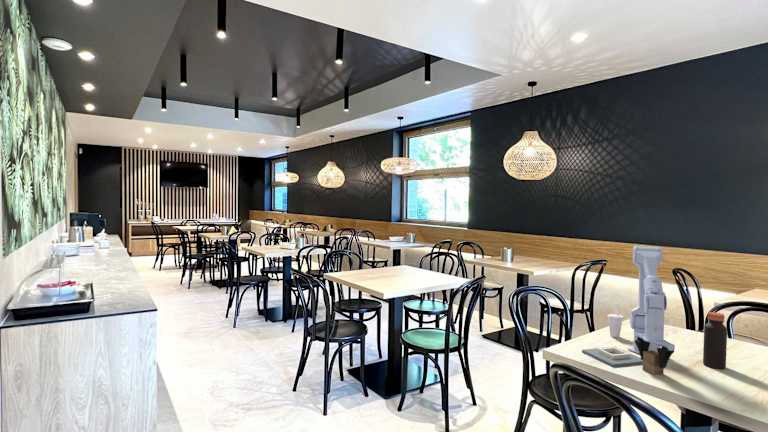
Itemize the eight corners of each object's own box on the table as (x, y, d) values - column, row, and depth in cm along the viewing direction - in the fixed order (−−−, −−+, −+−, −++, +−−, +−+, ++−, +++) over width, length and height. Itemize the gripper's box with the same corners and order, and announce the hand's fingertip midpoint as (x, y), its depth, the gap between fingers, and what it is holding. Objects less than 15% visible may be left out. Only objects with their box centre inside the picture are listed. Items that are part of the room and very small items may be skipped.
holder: (613, 349, 174) (614, 343, 174) (647, 363, 158) (647, 356, 158) (581, 352, 170) (582, 346, 170) (612, 367, 154) (613, 360, 154)
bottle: (720, 370, 152) (722, 316, 151) (699, 364, 158) (701, 312, 158) (729, 367, 155) (731, 314, 155) (708, 361, 161) (710, 310, 161)
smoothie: (624, 339, 187) (625, 308, 187) (609, 338, 188) (610, 307, 188) (619, 334, 194) (620, 305, 193) (605, 333, 195) (605, 304, 194)
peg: (652, 368, 153) (653, 350, 153) (663, 373, 149) (664, 354, 149) (642, 370, 152) (643, 351, 152) (653, 374, 148) (654, 355, 147)
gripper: (628, 321, 156) (627, 357, 156) (663, 333, 142) (662, 372, 142) (643, 320, 158) (642, 355, 158) (679, 331, 144) (678, 370, 144)
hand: (653, 363), depth 150 cm, fingers open, 7 cm apart
